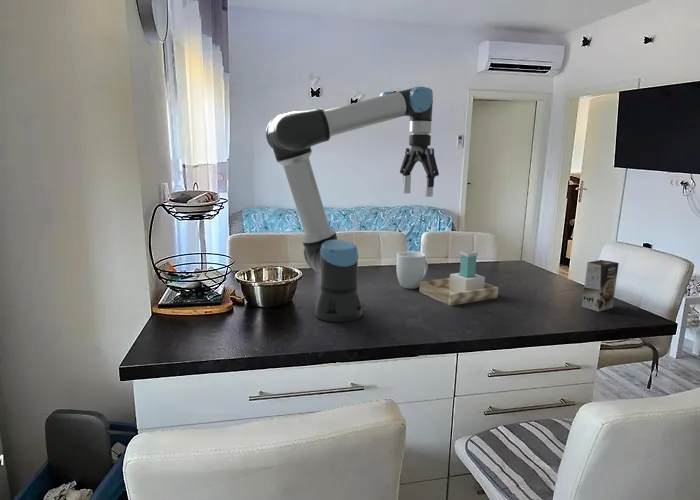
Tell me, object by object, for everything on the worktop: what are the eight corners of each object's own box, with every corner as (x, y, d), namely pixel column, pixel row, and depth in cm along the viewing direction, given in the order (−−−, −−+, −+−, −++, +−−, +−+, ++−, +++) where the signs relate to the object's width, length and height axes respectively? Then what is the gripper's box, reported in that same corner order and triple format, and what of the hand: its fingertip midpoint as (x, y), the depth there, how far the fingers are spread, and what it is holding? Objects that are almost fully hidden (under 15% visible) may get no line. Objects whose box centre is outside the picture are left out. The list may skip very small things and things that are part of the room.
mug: (415, 280, 196) (417, 249, 194) (436, 285, 188) (438, 253, 185) (389, 285, 187) (390, 253, 184) (410, 292, 179) (411, 258, 176)
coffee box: (599, 312, 159) (605, 265, 156) (581, 307, 165) (586, 261, 161) (613, 307, 164) (619, 262, 161) (595, 302, 169) (601, 258, 166)
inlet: (465, 295, 172) (466, 279, 171) (449, 289, 180) (450, 274, 178) (483, 292, 176) (485, 277, 175) (467, 286, 184) (468, 271, 183)
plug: (466, 285, 174) (468, 253, 172) (458, 282, 178) (460, 251, 176) (475, 284, 176) (477, 252, 174) (467, 281, 180) (469, 250, 178)
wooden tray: (450, 305, 163) (450, 294, 163) (419, 292, 179) (419, 281, 178) (497, 297, 173) (498, 287, 173) (464, 285, 189) (465, 275, 188)
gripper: (451, 133, 157) (447, 197, 161) (408, 135, 179) (406, 191, 183) (433, 132, 153) (429, 198, 158) (391, 134, 175) (390, 192, 179)
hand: (417, 195), depth 170 cm, fingers open, 13 cm apart
